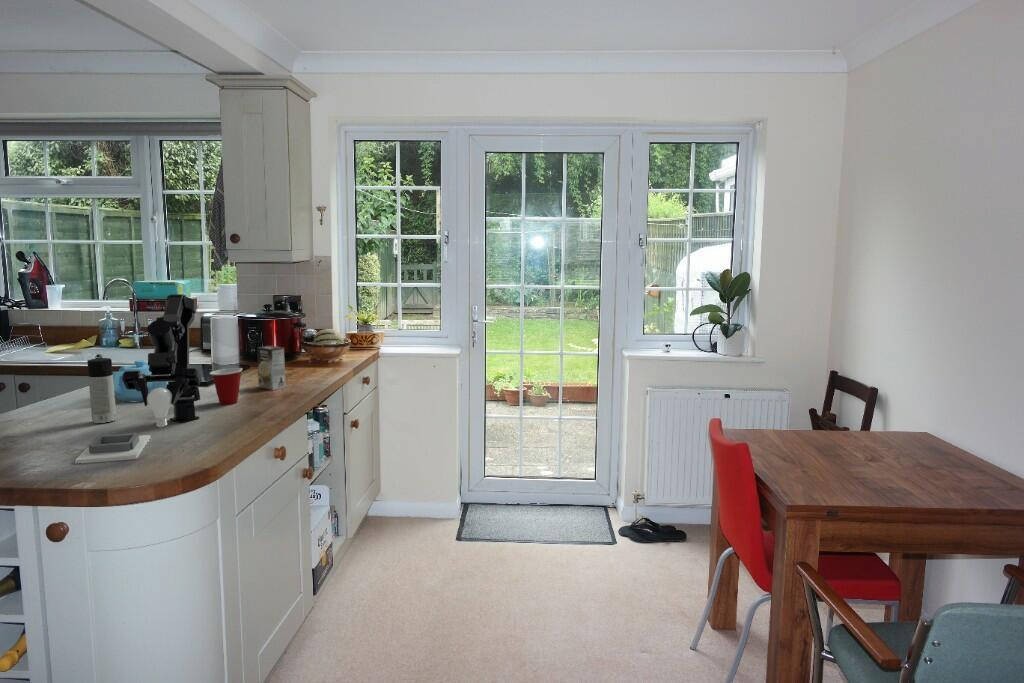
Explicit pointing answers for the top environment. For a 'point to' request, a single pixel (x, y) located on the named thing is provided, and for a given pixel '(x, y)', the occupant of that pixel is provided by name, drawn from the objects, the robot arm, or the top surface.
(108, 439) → the bulb holder
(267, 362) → the coffee box
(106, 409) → the spray can
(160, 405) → the lightbulb
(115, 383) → the teapot
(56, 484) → the top surface
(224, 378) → the plastic cup
